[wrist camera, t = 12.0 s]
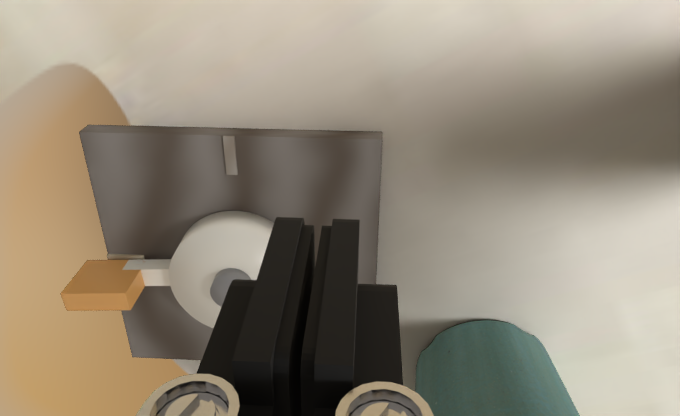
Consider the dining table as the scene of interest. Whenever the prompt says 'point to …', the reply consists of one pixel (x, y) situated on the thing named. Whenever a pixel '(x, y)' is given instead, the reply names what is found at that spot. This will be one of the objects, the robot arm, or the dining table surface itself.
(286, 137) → the dial board
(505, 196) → the dining table surface
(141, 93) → the dining table surface
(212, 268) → the white handled round piece
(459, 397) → the flower pot
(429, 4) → the dining table surface
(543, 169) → the dining table surface
